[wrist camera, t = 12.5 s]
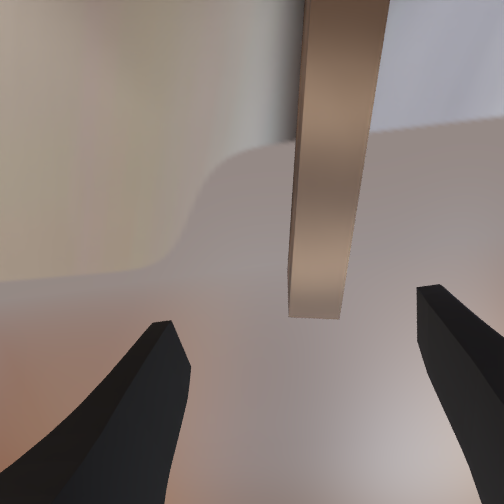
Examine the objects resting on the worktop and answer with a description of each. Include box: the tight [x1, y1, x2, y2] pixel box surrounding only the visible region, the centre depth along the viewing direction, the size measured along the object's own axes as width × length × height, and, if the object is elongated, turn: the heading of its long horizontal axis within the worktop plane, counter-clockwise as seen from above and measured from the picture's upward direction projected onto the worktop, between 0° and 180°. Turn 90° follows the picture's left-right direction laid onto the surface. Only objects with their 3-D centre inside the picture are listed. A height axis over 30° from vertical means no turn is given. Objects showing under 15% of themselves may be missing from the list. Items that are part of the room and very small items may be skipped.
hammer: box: [288, 0, 390, 319], centre depth 17 cm, size 19×5×4 cm, turn 0°
